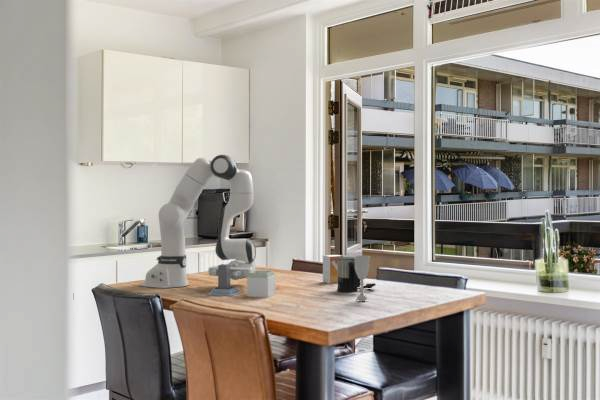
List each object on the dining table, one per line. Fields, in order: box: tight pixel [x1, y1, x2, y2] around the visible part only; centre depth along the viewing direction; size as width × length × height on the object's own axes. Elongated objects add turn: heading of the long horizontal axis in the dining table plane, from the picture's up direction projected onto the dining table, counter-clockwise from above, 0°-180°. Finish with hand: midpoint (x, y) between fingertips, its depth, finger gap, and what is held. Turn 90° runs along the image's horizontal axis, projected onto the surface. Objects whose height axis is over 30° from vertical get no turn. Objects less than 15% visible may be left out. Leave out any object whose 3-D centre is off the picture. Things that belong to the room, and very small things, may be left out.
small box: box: [322, 254, 344, 284], centre depth 305 cm, size 8×6×13 cm
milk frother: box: [336, 256, 377, 293], centre depth 280 cm, size 14×16×15 cm
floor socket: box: [205, 285, 243, 297], centre depth 274 cm, size 12×12×2 cm
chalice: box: [353, 255, 371, 301], centre depth 254 cm, size 7×7×18 cm
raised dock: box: [246, 269, 276, 298], centre depth 269 cm, size 10×10×10 cm
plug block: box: [217, 263, 231, 289], centre depth 274 cm, size 4×4×12 cm
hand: (224, 273), depth 273 cm, fingers open, 8 cm apart
